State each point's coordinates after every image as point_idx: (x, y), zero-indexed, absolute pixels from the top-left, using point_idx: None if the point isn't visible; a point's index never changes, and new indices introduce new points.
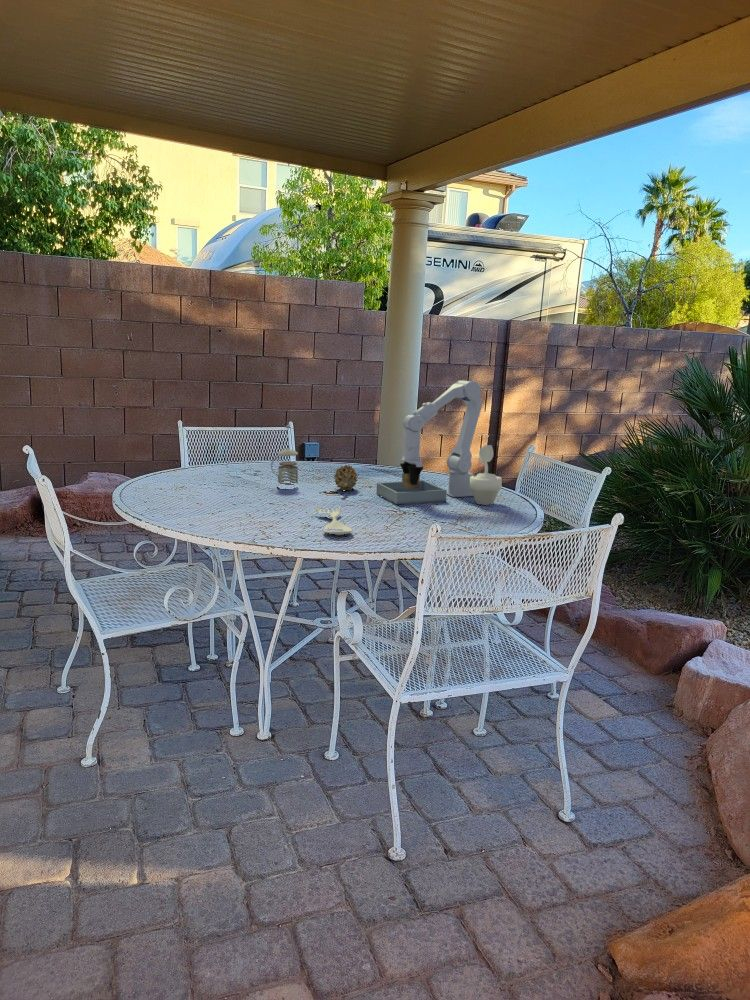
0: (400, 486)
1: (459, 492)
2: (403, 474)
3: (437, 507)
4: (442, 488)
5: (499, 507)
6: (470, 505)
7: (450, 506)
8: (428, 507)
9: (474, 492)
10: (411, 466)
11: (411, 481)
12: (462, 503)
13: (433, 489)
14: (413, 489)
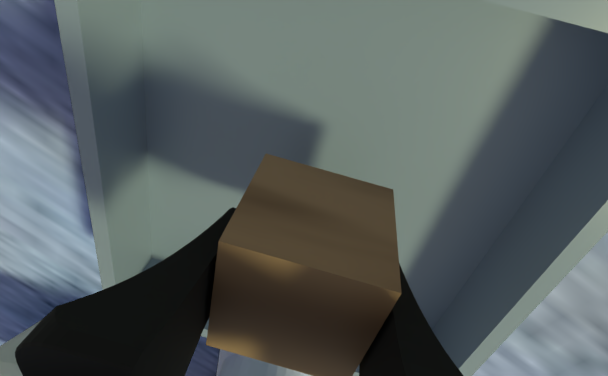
0: (520, 253)
1: (219, 373)
2: (358, 274)
3: (16, 130)
4: None
5: (8, 324)
6: (53, 280)
7: (38, 203)
8: (18, 81)
9: None
10: (55, 370)
11: (216, 221)
12: (98, 283)
13: None
14: (457, 303)
